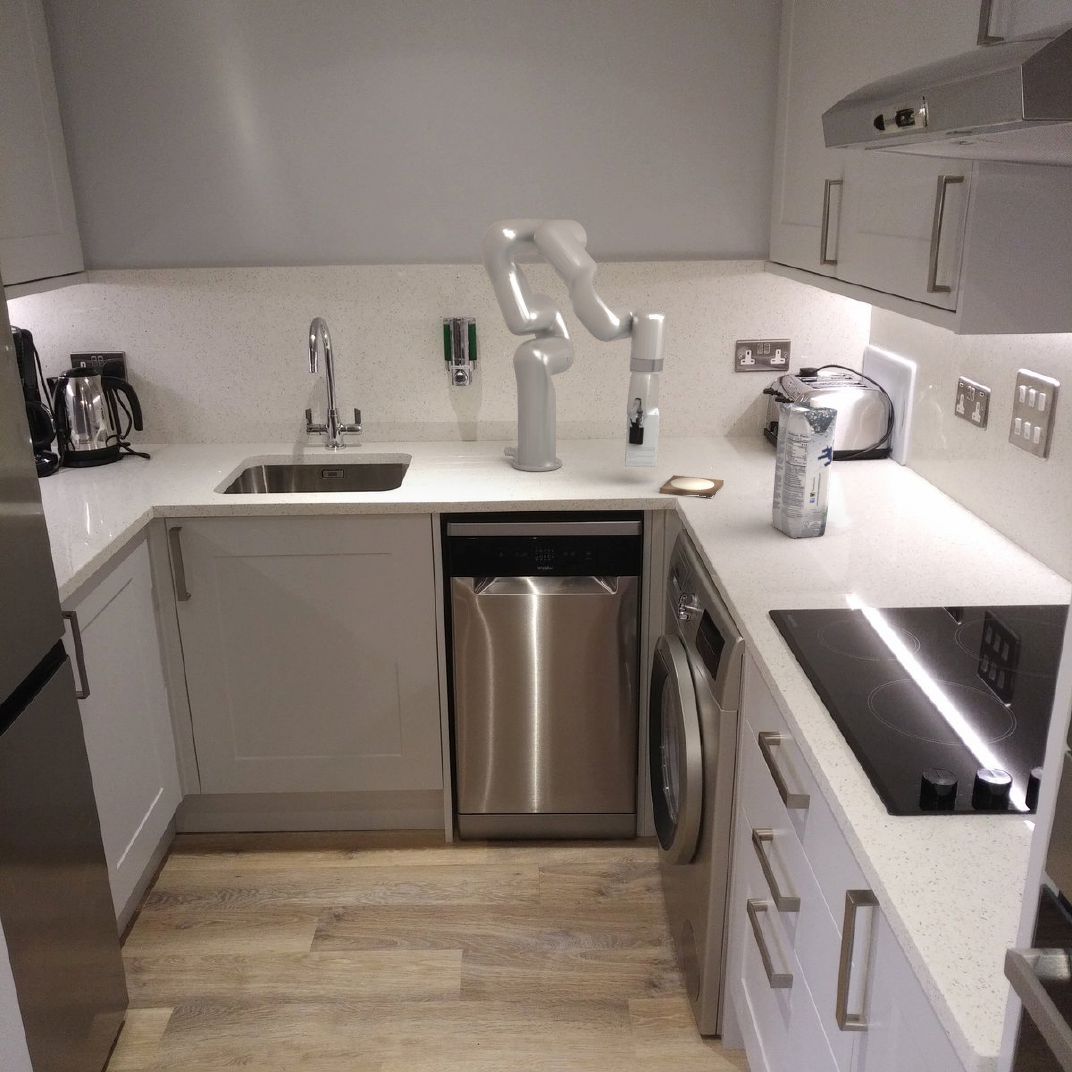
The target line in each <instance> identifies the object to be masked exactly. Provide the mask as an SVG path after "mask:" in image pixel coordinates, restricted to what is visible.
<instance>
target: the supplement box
mask: <svg viewBox="0 0 1072 1072" xmlns="http://www.w3.org/2000/svg"><path fill="white" fill-rule="evenodd" d="M638 414H643V413H638ZM630 418H631V414H629V415H627V414H626V432H625V433H626V434H625V435H626V436H625V454H624V455H625V458H624V461H625V464H624V465H625V467H635V468H636V467H638V468H640V467H641V468H656V467H657V458H658V457H657V456H658V441H659V425H660V411H659V408H658V407H657V408H656V409H655V410H654V411H652V412H651V413H649V415H648V416H647V417H645V419H644V423H643V427H644V436H643V444H642V445H637V444H630V443H629V433H630ZM639 420H641V418H639Z"/></svg>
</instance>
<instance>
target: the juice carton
mask: <svg viewBox="0 0 1072 1072" xmlns="http://www.w3.org/2000/svg"><path fill="white" fill-rule="evenodd" d="M825 405H826V399H823V398H819V397H817V398H815V397H811V398H810V400H809V401H799V402H797V401H796V402H785V403H784V402H783V403H780V404H779V413H778V415H779V417H778V419H779V420H778V429H777V441H776V457H775V467H774V468H775V470H774V481H773V482H774V484H773V494H772V507H771V508H772V509H771V510H772V511H771V516H772V517H771V519H772V522H771V524H772V527H774V528H775V529H777V528H778V529H777V530H779V529H780V530H779V531H781V532H782V531H783V532H782V533H784V534H785V533H786V535H787V536H788V535H789V536H788V537H790V536H791V537H790V538H791V539H798V538H797V537H802V538H809V537H808V536H812V537H821V536H824V535H825V532H826V527H827V526H826V525H827V520H828V512H829V510H828V509H829V500H830V491H831V490H830V489H831V480H832V467H833V457H834V447H835V434H836V425H837V424H836V423H837V417H838V410H837V409H835V408H833V407H826V406H825Z"/></svg>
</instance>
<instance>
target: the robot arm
mask: <svg viewBox="0 0 1072 1072" xmlns="http://www.w3.org/2000/svg"><path fill="white" fill-rule="evenodd" d="M587 243H588V236H587V232H586V230H585V228H584V227H583V225H582V224H581V223H580V222H578V221H576V220H573V219H545V218H512V219H511V218H510V219H503V220H502V219H501V220H499V221H495V222H493V223H492V224H491V225H490V226H489V227H488V228H487V229H486V230H485V232H484V234H483V236H482V239H481V243H480V257H481V262H482V265H483V267H484V270H485V272H486V274H487V277H488V278H489V281H490V284H491V285H492V288H493V291H494V294H495V298H496V301H497V304H498V306H499V309H500V311H501V314H502V317H503V320H504V323H505V325H506V328H507V329H508V331H509V332H510V333H511V334H512V335H514V336H517V337H518V336H519V337H523V336H525V337H526V336H530V335H534V337H535V338H532V339H529V340H526V341H523V342H521V344H518V347H517V348H516V349H515V351H514V354H513V358H512V362H513V363H512V364H513V370H514V375H515V380H516V391H517V392H516V393H517V395H516V396H517V397H516V398H517V446H515V447H512V446H504V447H503V453H504V456H507V457H508V456H511V457H513V460H511V465H512V468H514V469H517V470H520V471H526V472H548V471H554V470H557V469H560V468H561V467H562V466H563V460H562V459H561V458H559V457H557V450H556V449H557V397H556V396H557V395H556V388H555V385H554V383H553V380H552V376H555V375H559V374H561V373H565V372H567V371H568V370H569V369H571V367H572V366H573V364H574V362H575V357H576V356H575V354H576V351H575V347H574V344H573V343H574V342H573V341H572V338H571V335H570V332H569V329H568V327H567V323H566V320H565V317H564V315H563V312H562V310H561V307H560V306H559V304H558V302H557V301H556V300H555V299H554V298H553V297H551V296H550V295H549V294H545V293H533V291H532V288H531V287H530V285H529V281H528V278H527V275H526V273H525V271H524V270H523V269H522V267H521V265H519V263H517V261H516V259H515V258H516V257H522V256H533V255H535V256H538V255H539V256H541V257H542V258H543V259H544V260H545V262H546V263H547V265H549V267H550V268H551V269H552V270H553V271H554V273H555V274H556V276H558V278H559V279H560V280H561V281H562V283H563V284H564V285H565V287H567V289H568V297H569V301H570V305H571V308H572V311H573V312H574V315H575V316H576V318H577V319H578V320H579V322H580V323H581V325H582V326H583V327H584V328H585V329H586V330H587V331H588V332H589V334H590V335H592V337H594V338H595V339H596V340H598V341H599V342H605V343H609V342H613V341H620V340H624V339H630V338H631V340H630V354H629V355H630V357H629V359H630V361H629V372H630V373H631V375H630V380H629V387H628V395H627V405H626V416H627V415H629V414H631V418H630V433H629V443H630V444H637V445H642V444H643V436H644V427H643V423H644V419H645V417H647V416H648V415H649V413H651V412H652V411H654V410H655V409H656V408H658V404H659V394H660V393H659V392H660V375H661V374H663V372H664V359H665V356H664V355H665V346H666V345H665V343H666V330H667V329H666V328H667V316H666V313H665V312H664V311H663V310H660V309H652V308H642V307H638V306H635V305H631V304H620V305H613V306H608V305H607V304H606V303H605V302H604V301H603V299H602V298H601V297H600V296H599V294H598V292H597V291H596V290H595V287H594V284H593V279H594V278H595V276H596V274H597V272H598V264H597V262H596V261H595V260H594V259H593V257H591V255H589V253H588V252H587V251H586V249H585V248H587V247H586V246H587ZM638 413H643V414H638ZM639 418H641V420H639Z"/></svg>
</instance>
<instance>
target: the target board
mask: <svg viewBox="0 0 1072 1072" xmlns="http://www.w3.org/2000/svg"><path fill="white" fill-rule="evenodd" d="M723 486H724V479H714V478H704V477H695V476H685V475H674V474H673V475H672V476H671V477H670V478H669V479H668V480H667V481H666V482H665V483H664V484H663V485H661V486H660V488H659V494H663V495H664V494H665V495H673V496H674V495H676V496H683V495H699V496H706V497H712V496H713V495H714V496H716V494H717V493H718V492H719V491H720V490H721V489H722V487H723ZM719 489H720V490H719ZM718 490H719V491H718ZM717 491H718V492H717ZM716 492H717V493H716Z"/></svg>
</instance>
